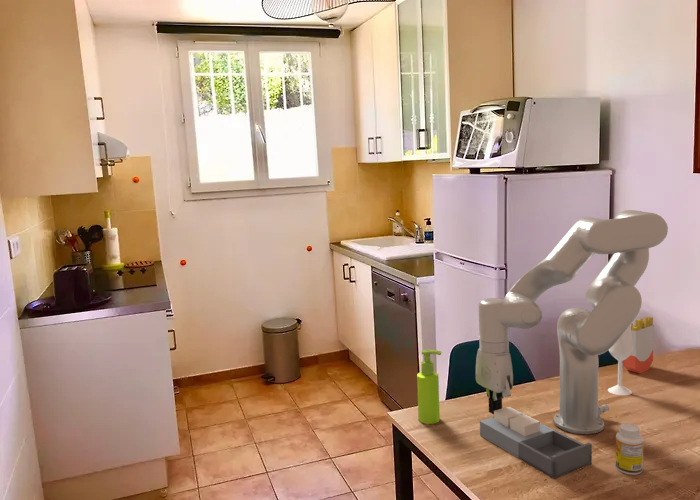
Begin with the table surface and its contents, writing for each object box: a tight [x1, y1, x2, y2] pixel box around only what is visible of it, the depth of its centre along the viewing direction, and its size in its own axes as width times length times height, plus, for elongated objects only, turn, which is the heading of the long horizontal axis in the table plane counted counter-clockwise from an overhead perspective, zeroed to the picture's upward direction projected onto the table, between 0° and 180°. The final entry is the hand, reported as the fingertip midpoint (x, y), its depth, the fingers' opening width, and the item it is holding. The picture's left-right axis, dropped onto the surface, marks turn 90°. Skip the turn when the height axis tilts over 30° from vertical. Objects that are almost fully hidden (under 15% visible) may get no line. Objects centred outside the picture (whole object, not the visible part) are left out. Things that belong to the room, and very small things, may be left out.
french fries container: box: [622, 316, 655, 374], centre depth 189 cm, size 5×11×18 cm, turn 124°
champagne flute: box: [607, 324, 633, 396], centre depth 172 cm, size 7×7×24 cm
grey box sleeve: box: [479, 413, 555, 459], centre depth 146 cm, size 12×14×4 cm
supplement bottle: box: [615, 422, 644, 476], centre depth 129 cm, size 6×6×10 cm
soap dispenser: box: [416, 349, 443, 425], centre depth 159 cm, size 6×7×20 cm
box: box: [518, 429, 593, 480], centre depth 134 cm, size 12×11×5 cm
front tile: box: [510, 414, 541, 436], centre depth 142 cm, size 5×5×2 cm
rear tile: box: [493, 406, 523, 427], centre depth 148 cm, size 5×5×2 cm
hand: (495, 412), depth 152 cm, fingers closed
